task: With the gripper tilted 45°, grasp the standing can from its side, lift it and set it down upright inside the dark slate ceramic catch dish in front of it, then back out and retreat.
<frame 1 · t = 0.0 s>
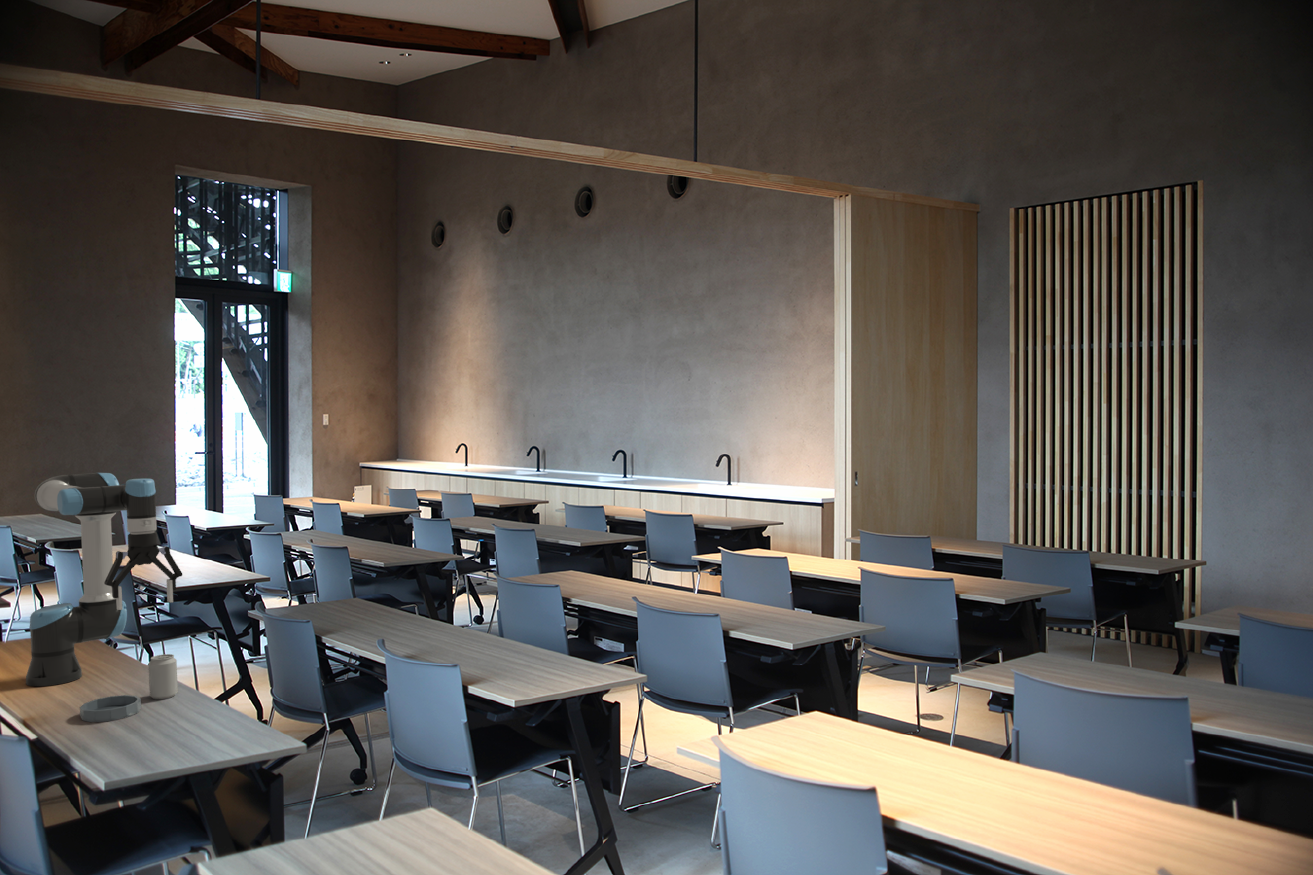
hand: (145, 605, 287), 28 cm above the table, tool pointing down, fingers open, 13 cm apart
can: (164, 697, 292), on the table
catch dish: (111, 713, 276), on the table
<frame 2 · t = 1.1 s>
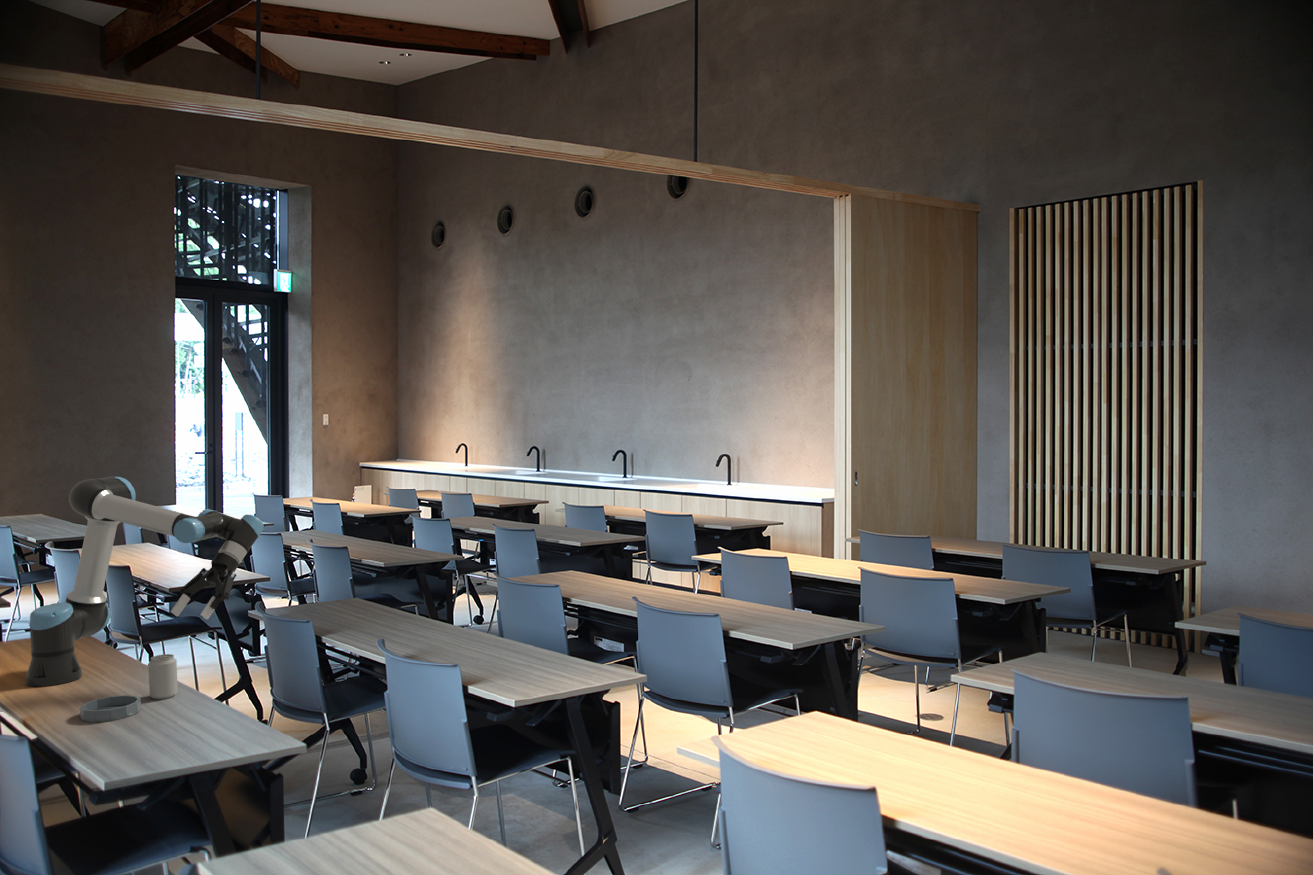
hand: (188, 615, 300), 22 cm above the table, tool tilted 45°, fingers open, 13 cm apart
nothing on the table moved.
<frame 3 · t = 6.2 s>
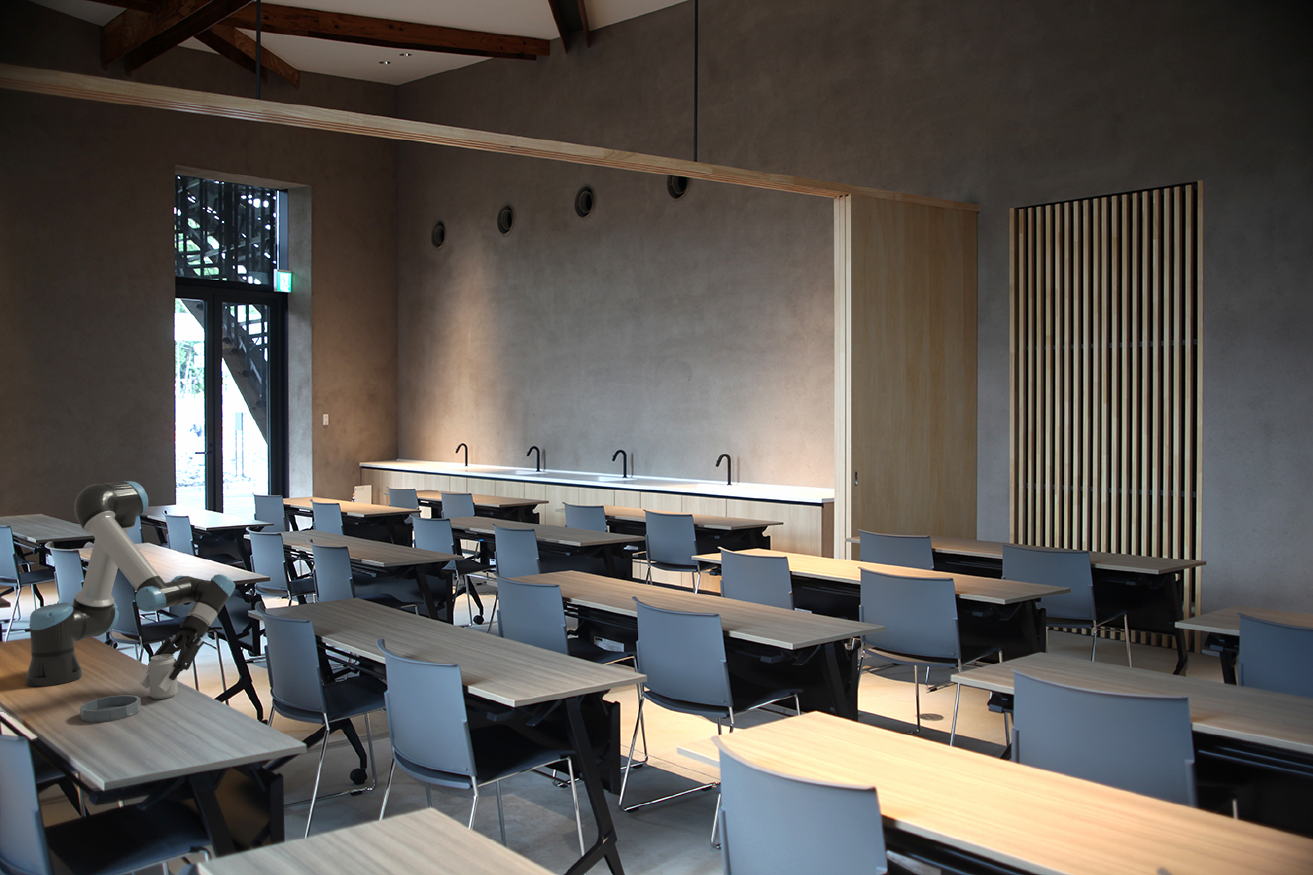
hand: (153, 687, 289), 4 cm above the table, tool tilted 45°, fingers closed on can, 7 cm apart
can: (164, 696, 292), on the table, touching gripper
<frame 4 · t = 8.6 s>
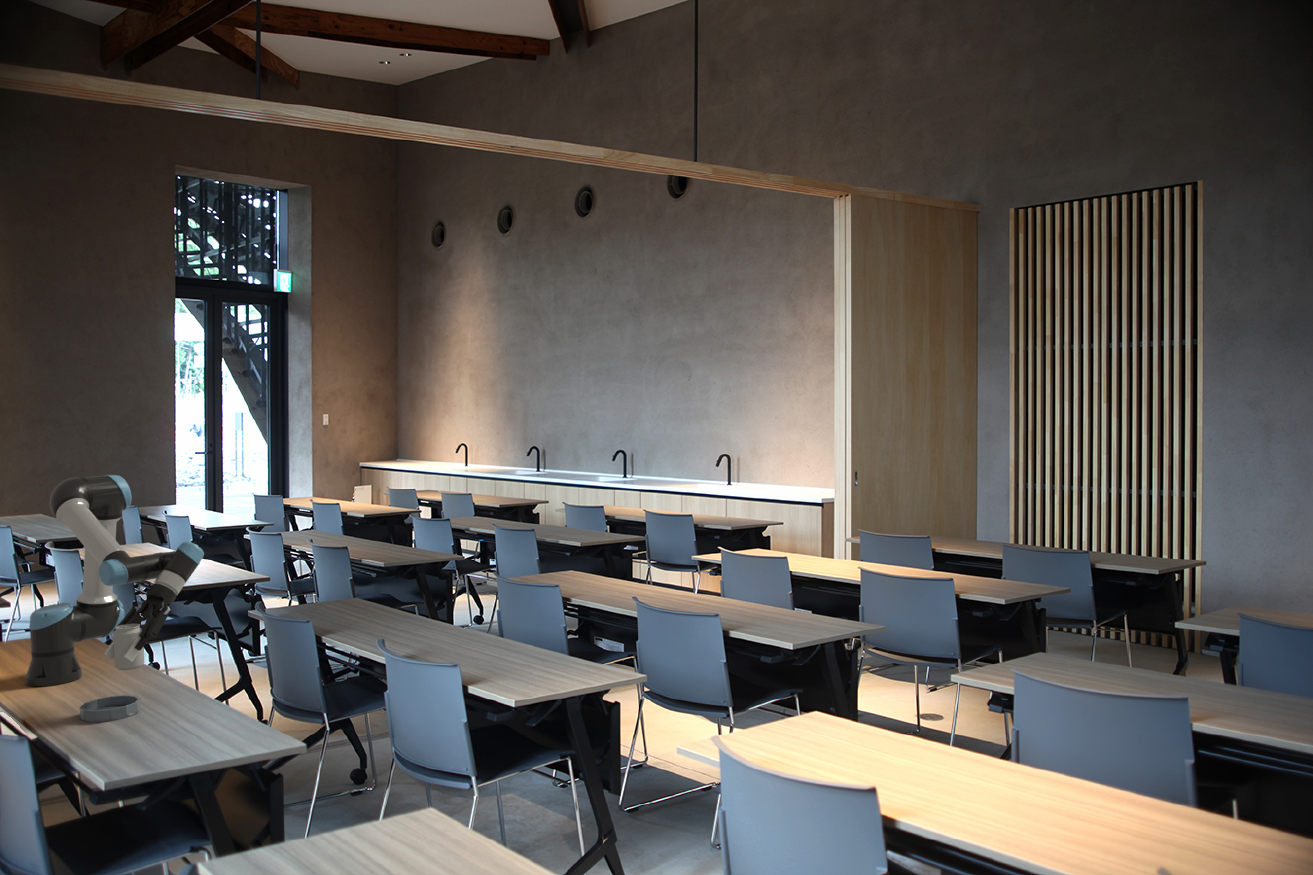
hand: (118, 657, 277), 15 cm above the table, tool tilted 45°, fingers closed on can, 7 cm apart
can: (130, 668, 281), point 12 cm above the table, touching gripper
when the fingers open (5 cm above the table, at t = 11.3 s): can drops 1 cm, resting on catch dish.
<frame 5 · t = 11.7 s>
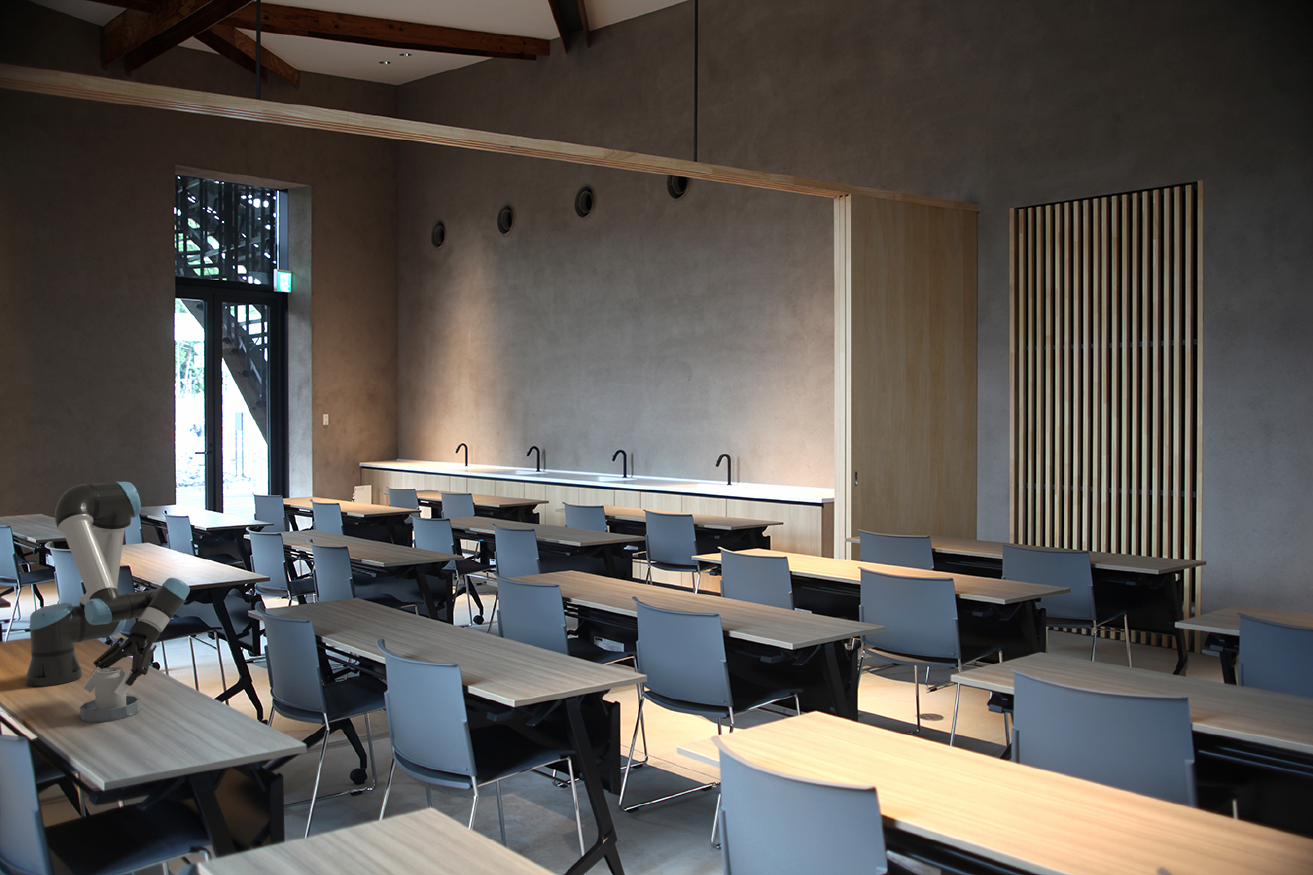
hand: (102, 692, 274), 7 cm above the table, tool tilted 45°, fingers open, 13 cm apart
can: (111, 712, 276), resting on catch dish
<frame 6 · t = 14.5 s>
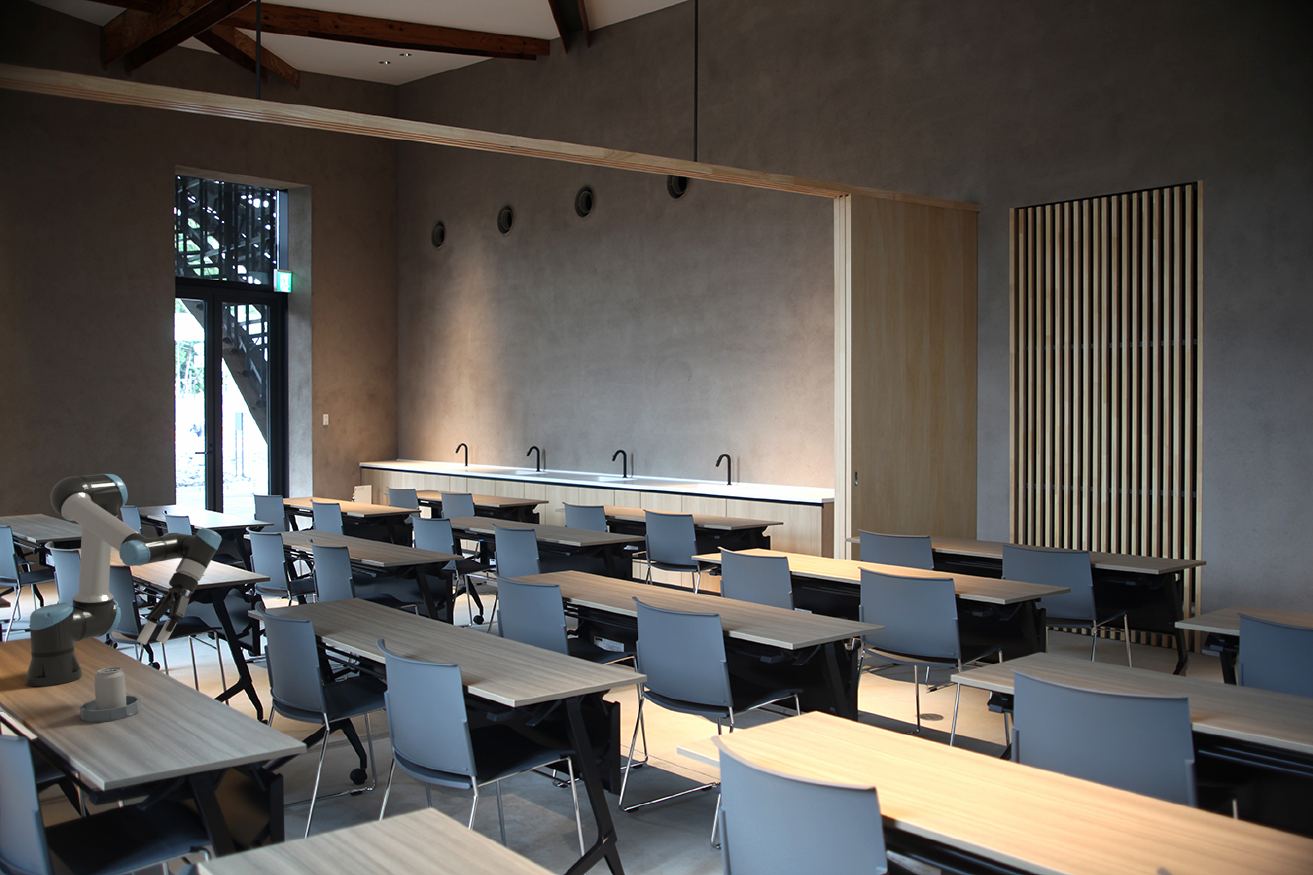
hand: (150, 642, 289), 17 cm above the table, tool tilted 35°, fingers open, 13 cm apart
nothing on the table moved.
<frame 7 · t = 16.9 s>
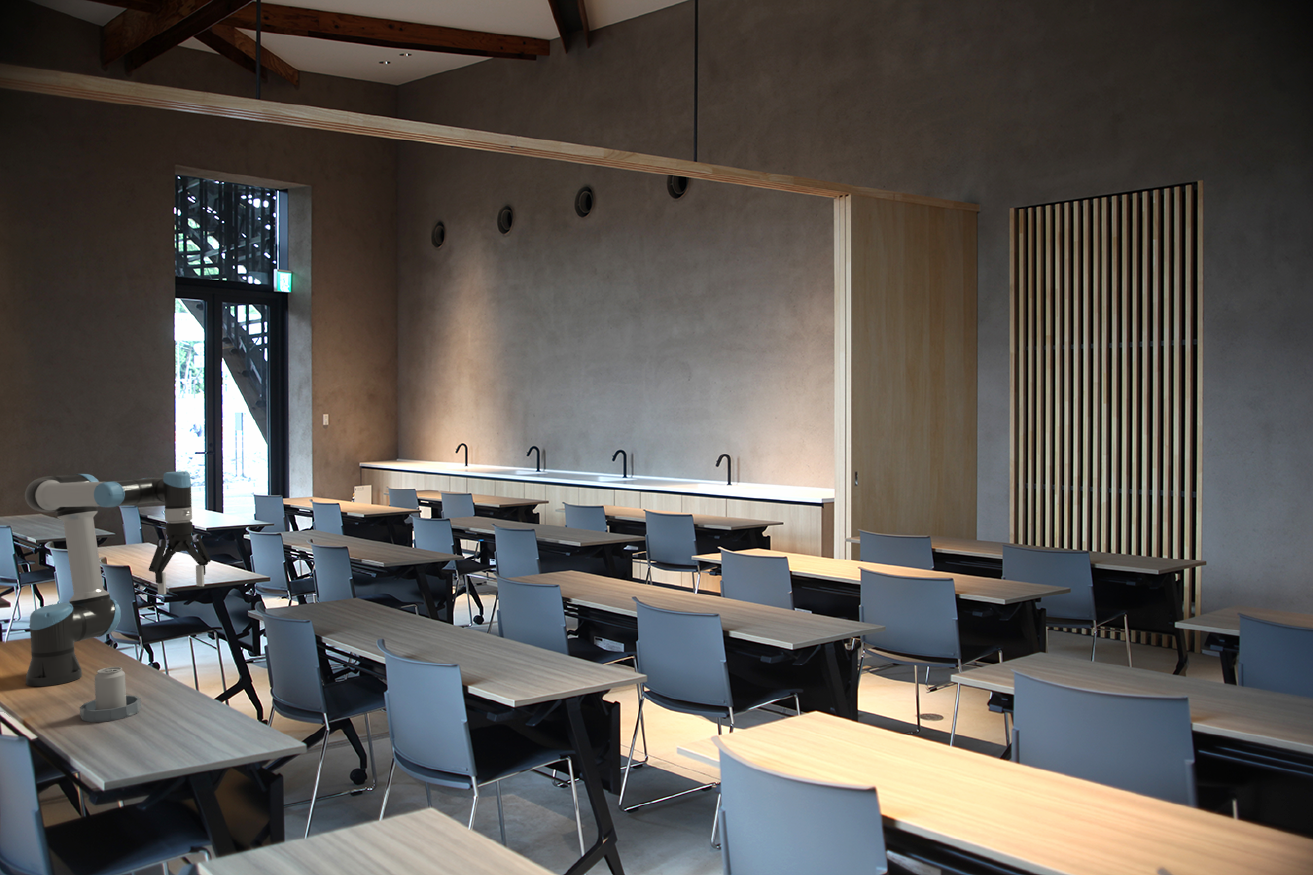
hand: (181, 589, 307), 29 cm above the table, tool pointing down, fingers open, 13 cm apart
nothing on the table moved.
at the end: can inside the target area on the catch dish (0.1 cm from its centre), point 0.4 cm above the catch dish's base; can tilted 0°; the gripper is holding nothing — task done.
